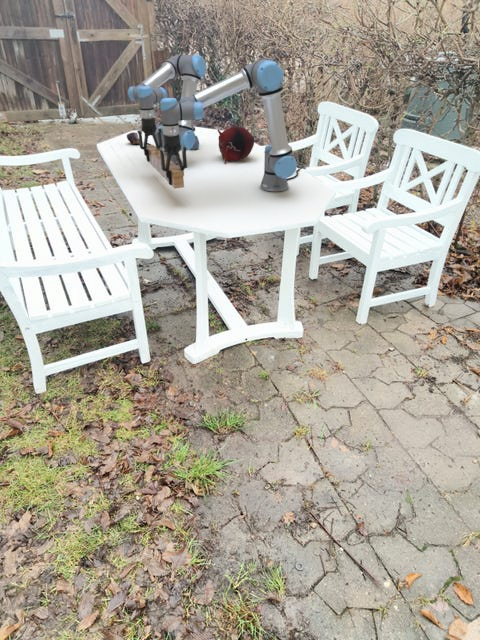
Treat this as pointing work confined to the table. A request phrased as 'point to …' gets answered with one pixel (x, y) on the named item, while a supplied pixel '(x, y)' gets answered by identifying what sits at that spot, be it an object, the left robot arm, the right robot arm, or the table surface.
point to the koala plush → (196, 144)
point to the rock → (133, 138)
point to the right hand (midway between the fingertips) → (175, 183)
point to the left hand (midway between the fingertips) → (152, 160)
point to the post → (156, 163)
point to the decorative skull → (235, 143)
